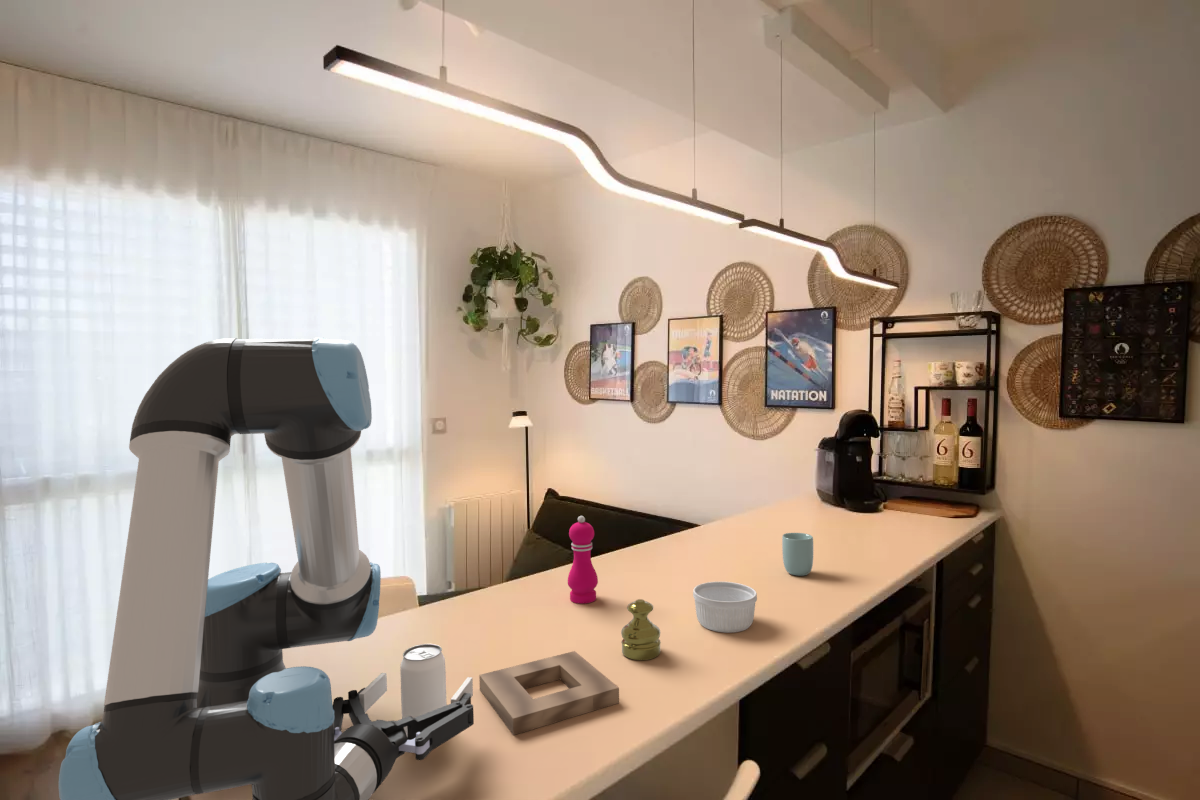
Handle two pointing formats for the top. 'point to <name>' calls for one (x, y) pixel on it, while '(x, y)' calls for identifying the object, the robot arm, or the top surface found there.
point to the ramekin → (725, 606)
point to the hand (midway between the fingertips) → (427, 683)
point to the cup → (797, 553)
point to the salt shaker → (640, 633)
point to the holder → (530, 713)
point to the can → (422, 680)
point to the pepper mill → (582, 563)
